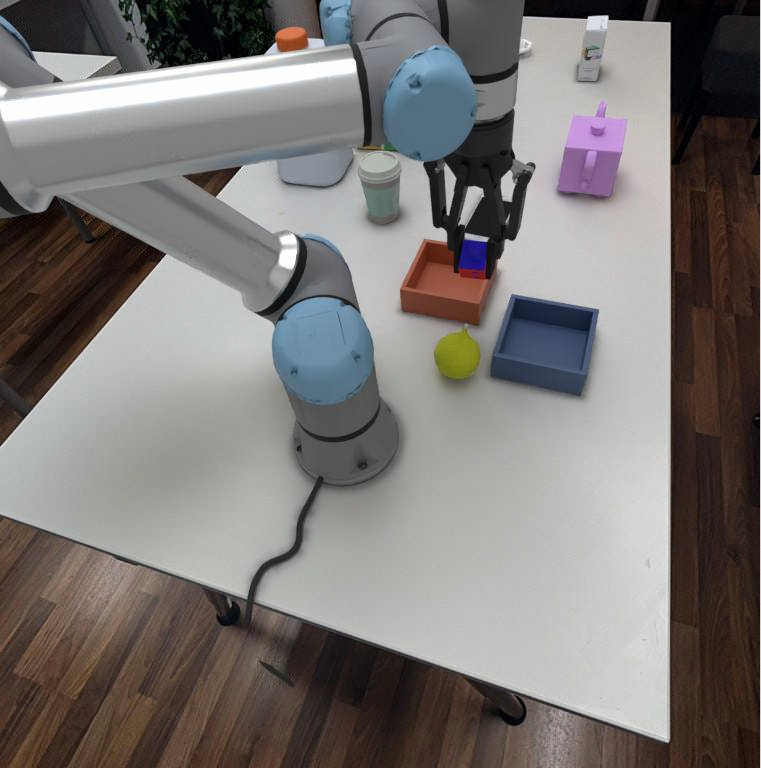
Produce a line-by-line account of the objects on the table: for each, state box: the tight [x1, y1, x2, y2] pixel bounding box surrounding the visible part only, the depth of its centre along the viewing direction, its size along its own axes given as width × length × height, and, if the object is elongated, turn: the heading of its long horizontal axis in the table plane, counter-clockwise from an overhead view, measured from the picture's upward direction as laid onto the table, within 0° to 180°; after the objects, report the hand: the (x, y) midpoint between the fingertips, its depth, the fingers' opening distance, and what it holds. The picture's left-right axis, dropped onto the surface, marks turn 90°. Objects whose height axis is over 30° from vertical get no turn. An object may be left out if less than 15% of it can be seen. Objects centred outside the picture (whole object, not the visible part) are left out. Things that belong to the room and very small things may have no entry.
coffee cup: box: [357, 150, 403, 225], centre depth 109 cm, size 8×8×12 cm
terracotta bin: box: [399, 238, 499, 326], centre depth 97 cm, size 14×14×5 cm
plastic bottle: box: [263, 26, 354, 187], centre depth 116 cm, size 15×15×28 cm
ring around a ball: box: [519, 37, 533, 56], centre depth 150 cm, size 8×6×8 cm
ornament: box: [433, 323, 482, 380], centre depth 84 cm, size 7×7×10 cm
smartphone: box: [464, 193, 512, 242], centre depth 109 cm, size 8×1×15 cm
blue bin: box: [489, 293, 600, 397], centre depth 86 cm, size 14×14×5 cm
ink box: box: [576, 15, 609, 82], centre depth 137 cm, size 8×5×12 cm, turn 164°
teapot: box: [556, 100, 628, 198], centre depth 110 cm, size 20×10×12 cm, turn 161°
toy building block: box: [458, 240, 487, 280], centre depth 77 cm, size 4×4×8 cm
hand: (474, 269), depth 80 cm, fingers closed on toy building block, 4 cm apart
